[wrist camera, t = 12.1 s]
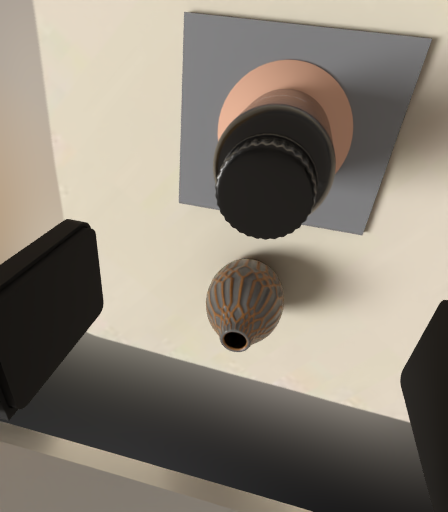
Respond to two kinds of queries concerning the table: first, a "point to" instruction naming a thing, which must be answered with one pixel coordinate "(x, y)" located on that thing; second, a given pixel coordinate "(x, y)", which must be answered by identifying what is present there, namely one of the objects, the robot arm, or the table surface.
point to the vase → (244, 303)
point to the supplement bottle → (274, 164)
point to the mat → (308, 81)
